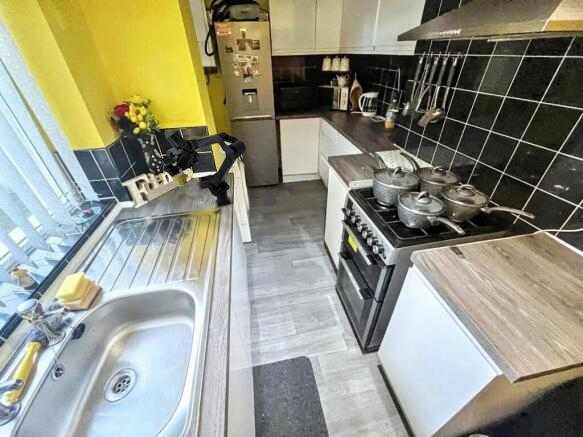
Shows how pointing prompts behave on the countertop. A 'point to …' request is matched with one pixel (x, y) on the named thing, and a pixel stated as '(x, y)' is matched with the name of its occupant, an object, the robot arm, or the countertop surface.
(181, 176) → the supplement bottle
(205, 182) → the pad socket
